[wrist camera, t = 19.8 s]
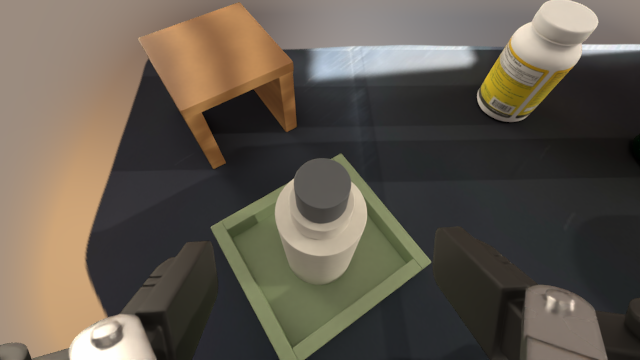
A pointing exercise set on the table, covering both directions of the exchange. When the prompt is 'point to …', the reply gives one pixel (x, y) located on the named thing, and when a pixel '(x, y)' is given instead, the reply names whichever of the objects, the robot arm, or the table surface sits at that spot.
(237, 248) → the sage green tray
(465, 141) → the table surface
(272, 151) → the table surface
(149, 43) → the wooden stand
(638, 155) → the soda can
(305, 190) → the white bottle
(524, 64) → the pill bottle
